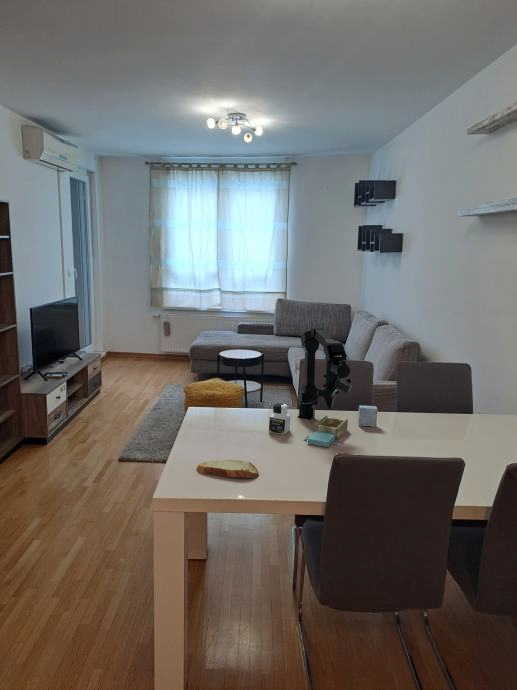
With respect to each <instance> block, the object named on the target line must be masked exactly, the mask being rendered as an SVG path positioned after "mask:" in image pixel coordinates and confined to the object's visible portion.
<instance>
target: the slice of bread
mask: <svg viewBox="0 0 517 690" xmlns="http://www.w3.org/2000/svg"><path fill="white" fill-rule="evenodd" d="M196 472H198V473H201V474H205V475H209V476H216V477H222V478H228V479H229V478H231V479H247V480H248V479H255V478H258V477H259V476H260V472H259V470H258V469H257V467H256V465H254V464H253V463H252V462H251V461H244V460H241V459H239V460H238V459H237V460H236V459H224V460H222V459H220V460H219V459H218V460H210V461H204V462H201V463H200V464H198V465H197V468H196Z"/></svg>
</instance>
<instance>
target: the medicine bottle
mask: <svg viewBox="0 0 517 690" xmlns="http://www.w3.org/2000/svg"><path fill="white" fill-rule="evenodd" d="M288 409H289V408H288V405H287V404H285V403H283V402H282V403H281V402H280V403H279V402H278V403H274V404H273V408H272V414H271V415H270V416H269V419H268V420H269V421H268V433H271V434H277V435H286V434H287V433H288V432H289V431H290V430H291V429H290V427H291V414H289V413H288Z"/></svg>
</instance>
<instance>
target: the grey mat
mask: <svg viewBox="0 0 517 690" xmlns="http://www.w3.org/2000/svg"><path fill="white" fill-rule="evenodd" d="M310 436H311V435H310ZM310 436H309V435H308V436H307V437H305V438H304V439H303V441H304V440H308V438H309V437H310ZM339 443H340V444H341V442H340V441H337V440H334V441H333V442H332V443H331V444H330V445H333V446H332V447H335V446H337V445H338V444H339ZM340 444H339V445H340ZM330 445H329V446H330ZM339 445H338V446H339ZM338 446H337V447H338Z"/></svg>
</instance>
